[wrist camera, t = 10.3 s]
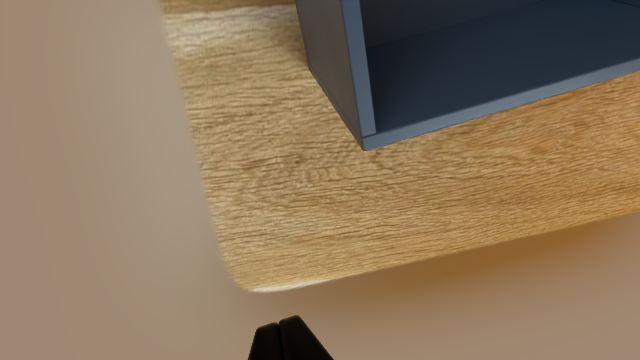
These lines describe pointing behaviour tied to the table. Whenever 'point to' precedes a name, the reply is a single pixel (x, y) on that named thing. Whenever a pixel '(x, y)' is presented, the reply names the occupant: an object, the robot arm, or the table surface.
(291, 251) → the table surface
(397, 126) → the carton
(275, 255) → the table surface
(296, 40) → the table surface
